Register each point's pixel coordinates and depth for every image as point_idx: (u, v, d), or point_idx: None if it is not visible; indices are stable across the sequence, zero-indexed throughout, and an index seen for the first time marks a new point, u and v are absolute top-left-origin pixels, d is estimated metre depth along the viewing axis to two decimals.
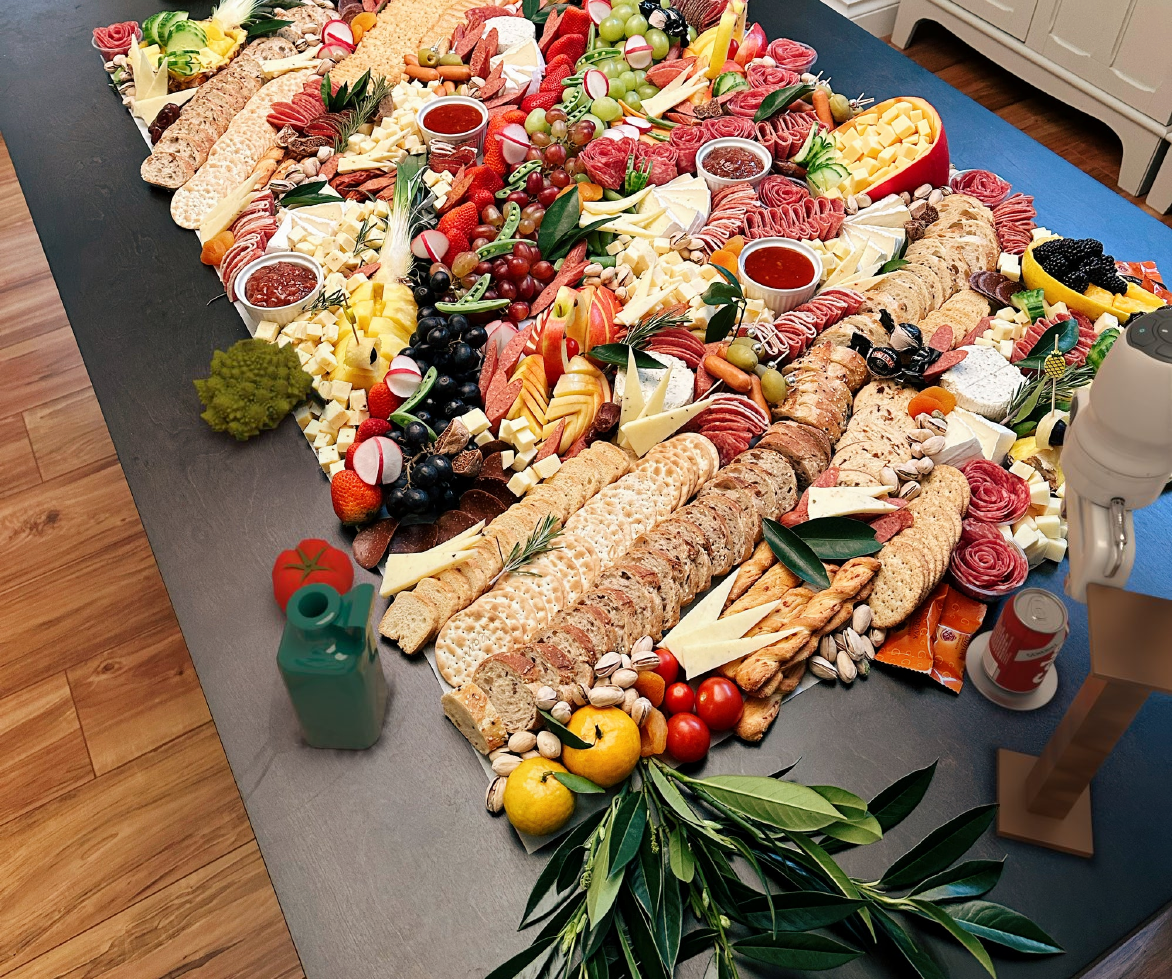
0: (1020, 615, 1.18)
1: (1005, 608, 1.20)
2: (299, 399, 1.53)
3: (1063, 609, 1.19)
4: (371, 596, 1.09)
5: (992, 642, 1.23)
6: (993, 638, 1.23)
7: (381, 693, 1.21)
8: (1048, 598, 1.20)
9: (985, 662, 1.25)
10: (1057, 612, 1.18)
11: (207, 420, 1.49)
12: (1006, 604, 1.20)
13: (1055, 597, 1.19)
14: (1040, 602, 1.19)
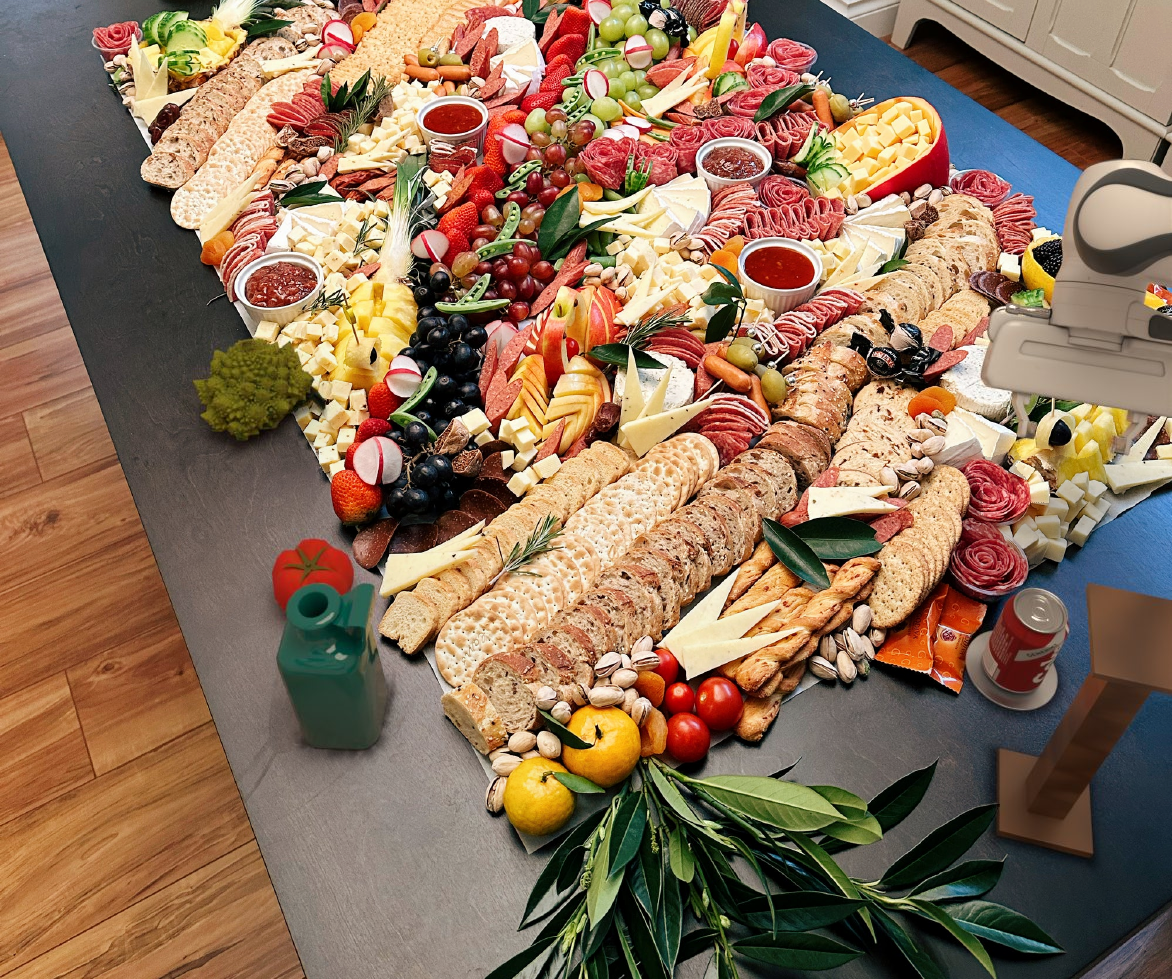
0: (1020, 615, 1.18)
1: (1005, 608, 1.20)
2: (299, 399, 1.53)
3: (1063, 609, 1.19)
4: (371, 596, 1.09)
5: (992, 642, 1.23)
6: (993, 638, 1.23)
7: (381, 693, 1.21)
8: (1048, 598, 1.20)
9: (985, 662, 1.25)
10: (1057, 612, 1.18)
11: (207, 420, 1.49)
12: (1006, 604, 1.20)
13: (1055, 597, 1.19)
14: (1040, 602, 1.19)
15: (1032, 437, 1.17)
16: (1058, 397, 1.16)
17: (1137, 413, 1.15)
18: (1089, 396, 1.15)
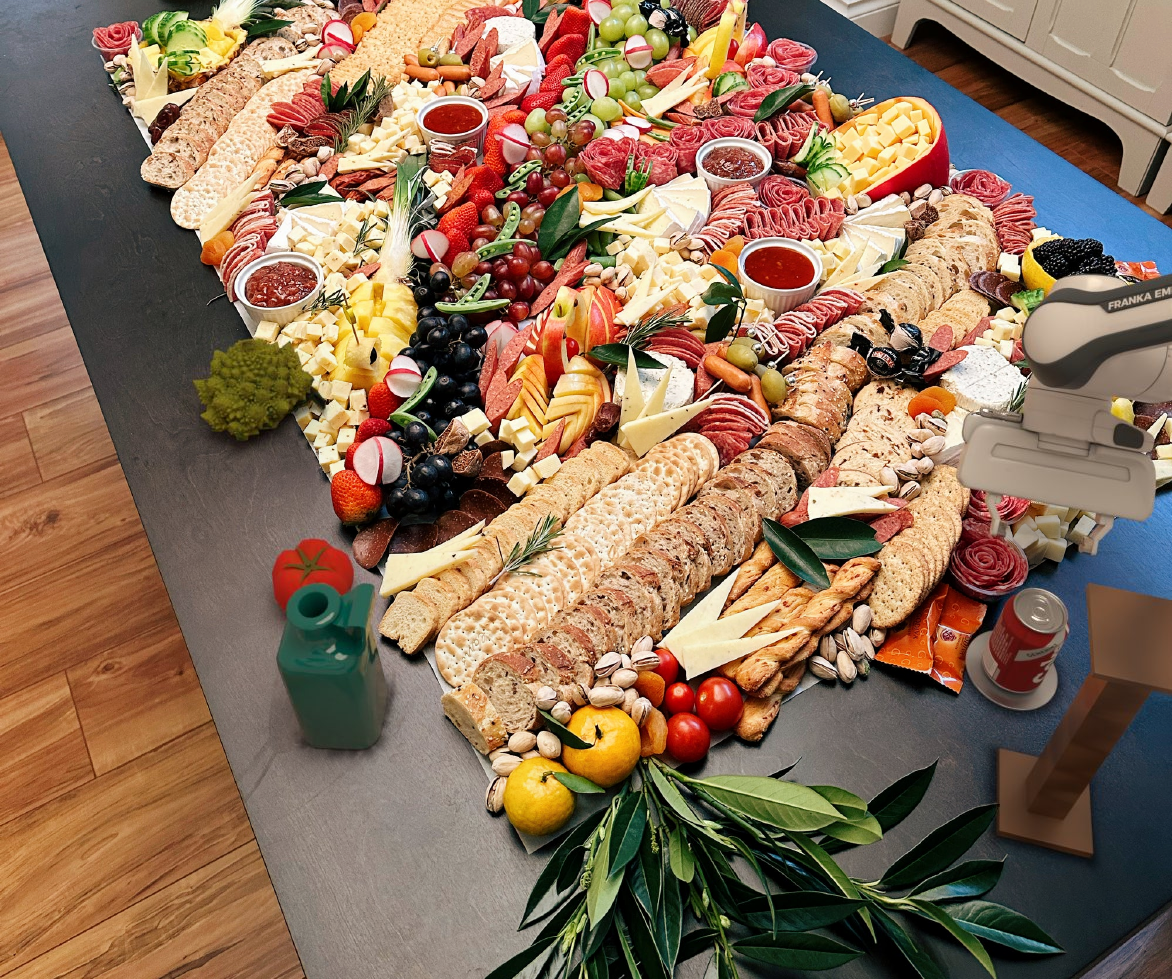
0: (1020, 615, 1.18)
1: (1005, 608, 1.20)
2: (299, 399, 1.53)
3: (1063, 609, 1.19)
4: (371, 596, 1.09)
5: (992, 642, 1.23)
6: (993, 638, 1.23)
7: (381, 693, 1.21)
8: (1048, 598, 1.20)
9: (985, 662, 1.25)
10: (1057, 612, 1.18)
11: (207, 420, 1.49)
12: (1006, 604, 1.20)
13: (1055, 597, 1.19)
14: (1040, 602, 1.19)
15: (1003, 536, 1.23)
16: (1028, 498, 1.22)
17: (1104, 515, 1.21)
18: (1057, 498, 1.21)
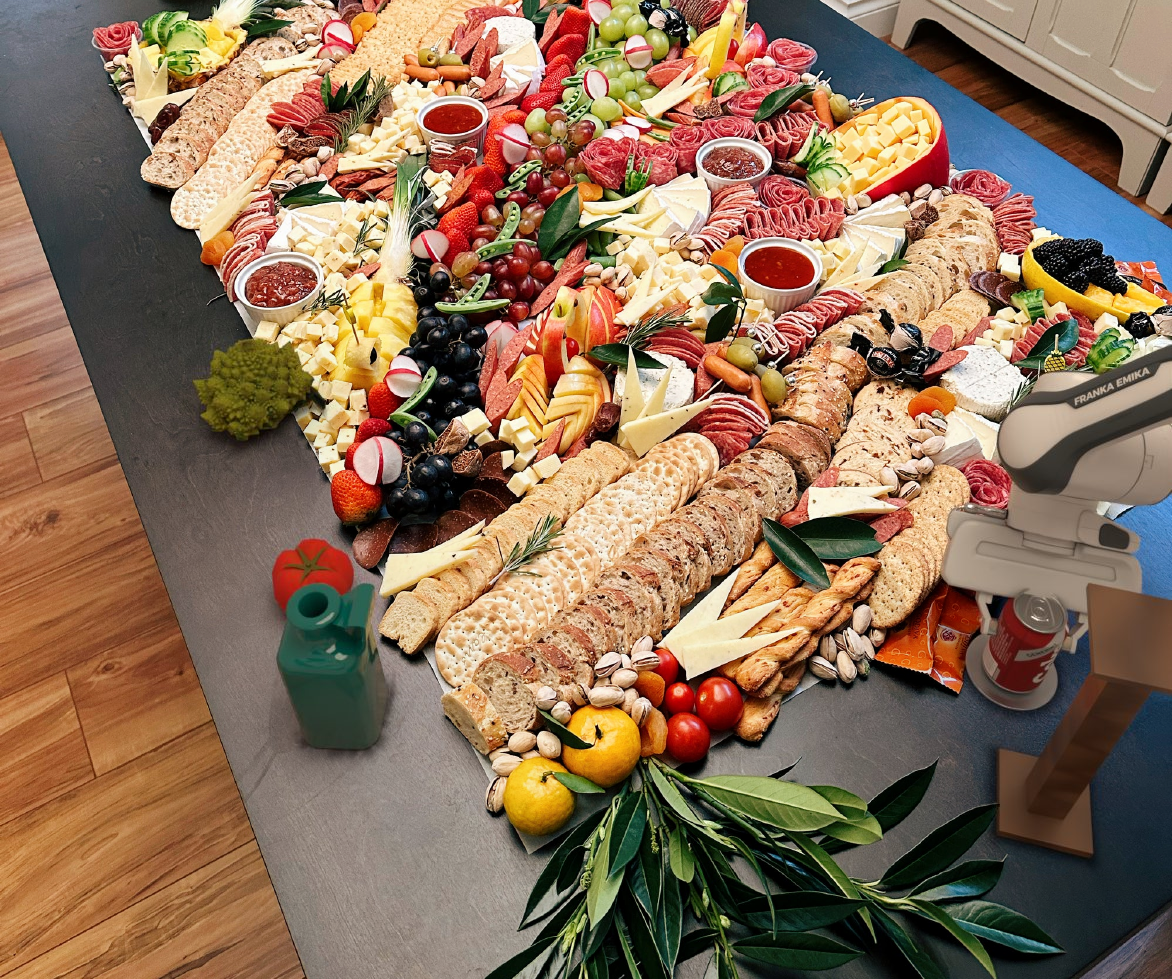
0: (1020, 615, 1.18)
1: (1004, 608, 1.20)
2: (299, 399, 1.53)
3: (1063, 609, 1.19)
4: (371, 596, 1.09)
5: (992, 642, 1.23)
6: (993, 638, 1.23)
7: (381, 693, 1.21)
8: (1048, 598, 1.20)
9: (985, 662, 1.25)
10: (1057, 612, 1.18)
11: (207, 420, 1.49)
12: (1006, 604, 1.20)
13: (1055, 597, 1.19)
14: (1040, 602, 1.19)
15: (994, 635, 1.21)
16: (1013, 597, 1.20)
17: None
18: None
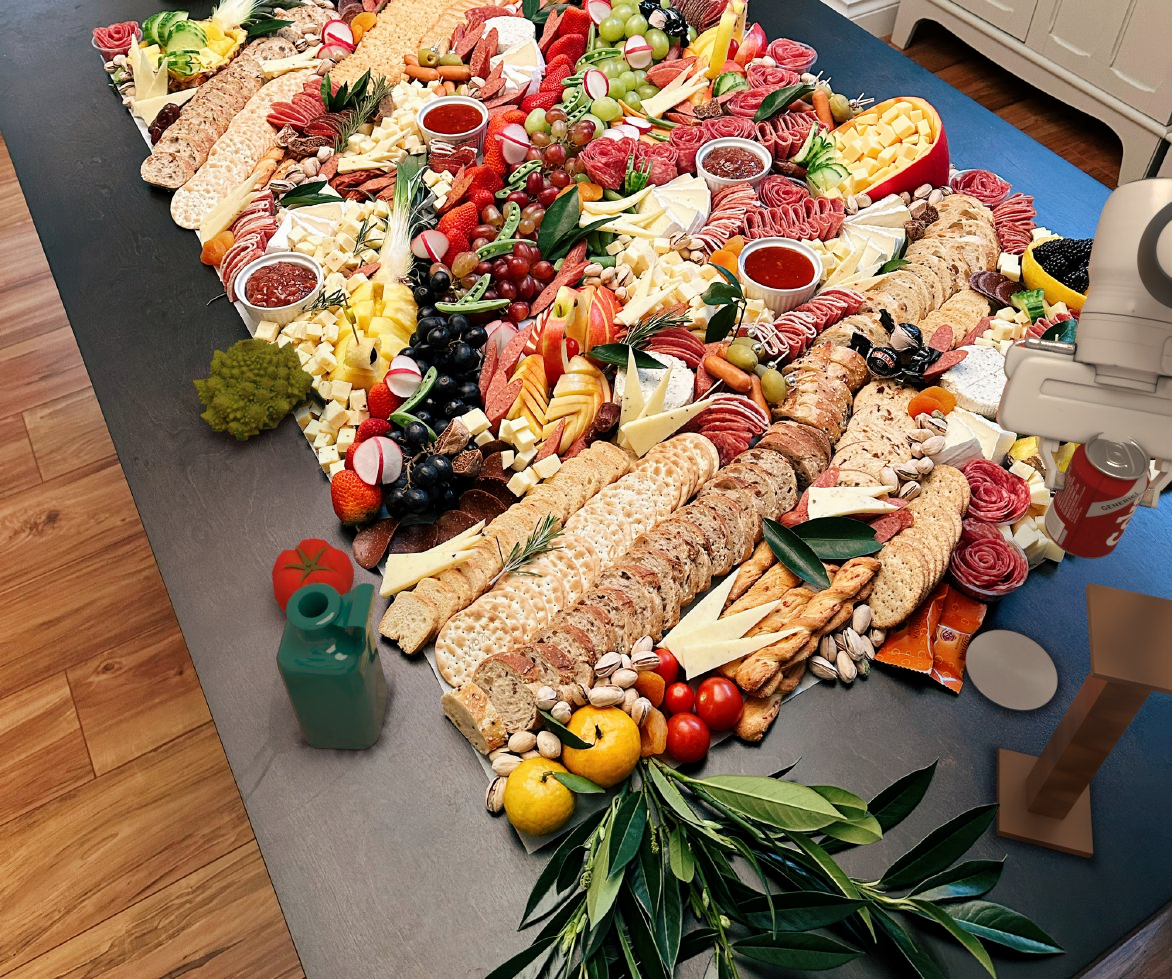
0: (1093, 460, 1.01)
1: (1074, 455, 1.03)
2: (299, 399, 1.53)
3: (1144, 454, 1.01)
4: (371, 596, 1.09)
5: (1058, 499, 1.05)
6: (1059, 494, 1.05)
7: (381, 693, 1.21)
8: (1125, 443, 1.02)
9: (1048, 525, 1.08)
10: (1137, 457, 1.01)
11: (207, 420, 1.49)
12: (1076, 451, 1.03)
13: (1134, 441, 1.02)
14: (1117, 447, 1.02)
15: (1061, 489, 1.04)
16: (1084, 443, 1.03)
17: None
18: (1119, 442, 1.02)
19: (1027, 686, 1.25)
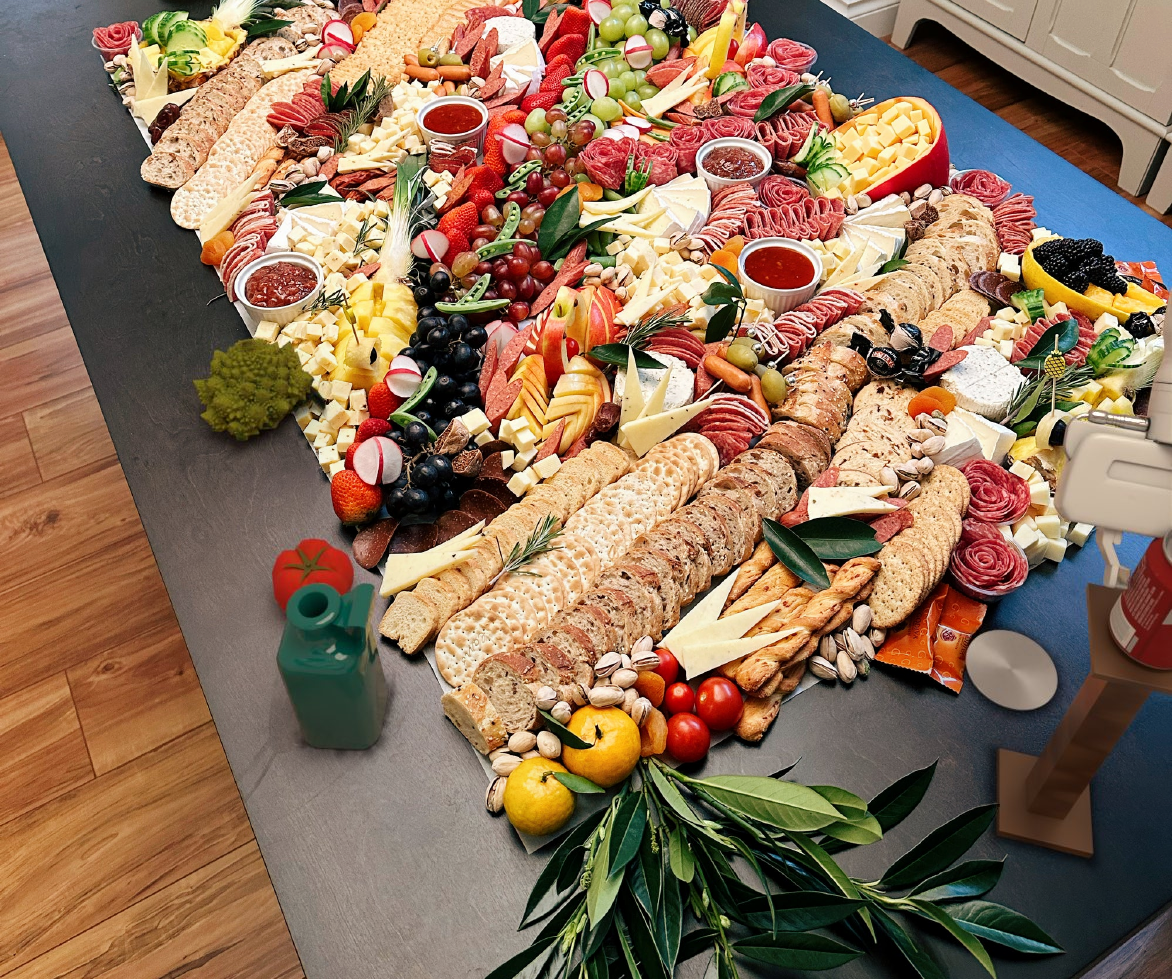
0: None
1: (1149, 552, 0.87)
2: (299, 399, 1.53)
3: None
4: (371, 596, 1.09)
5: (1127, 600, 0.90)
6: (1129, 595, 0.90)
7: (381, 693, 1.21)
8: None
9: (1114, 628, 0.92)
10: None
11: (207, 420, 1.49)
12: (1150, 547, 0.87)
13: None
14: None
15: (1124, 588, 0.89)
16: (1159, 537, 0.87)
17: None
18: None
19: (1027, 686, 1.25)
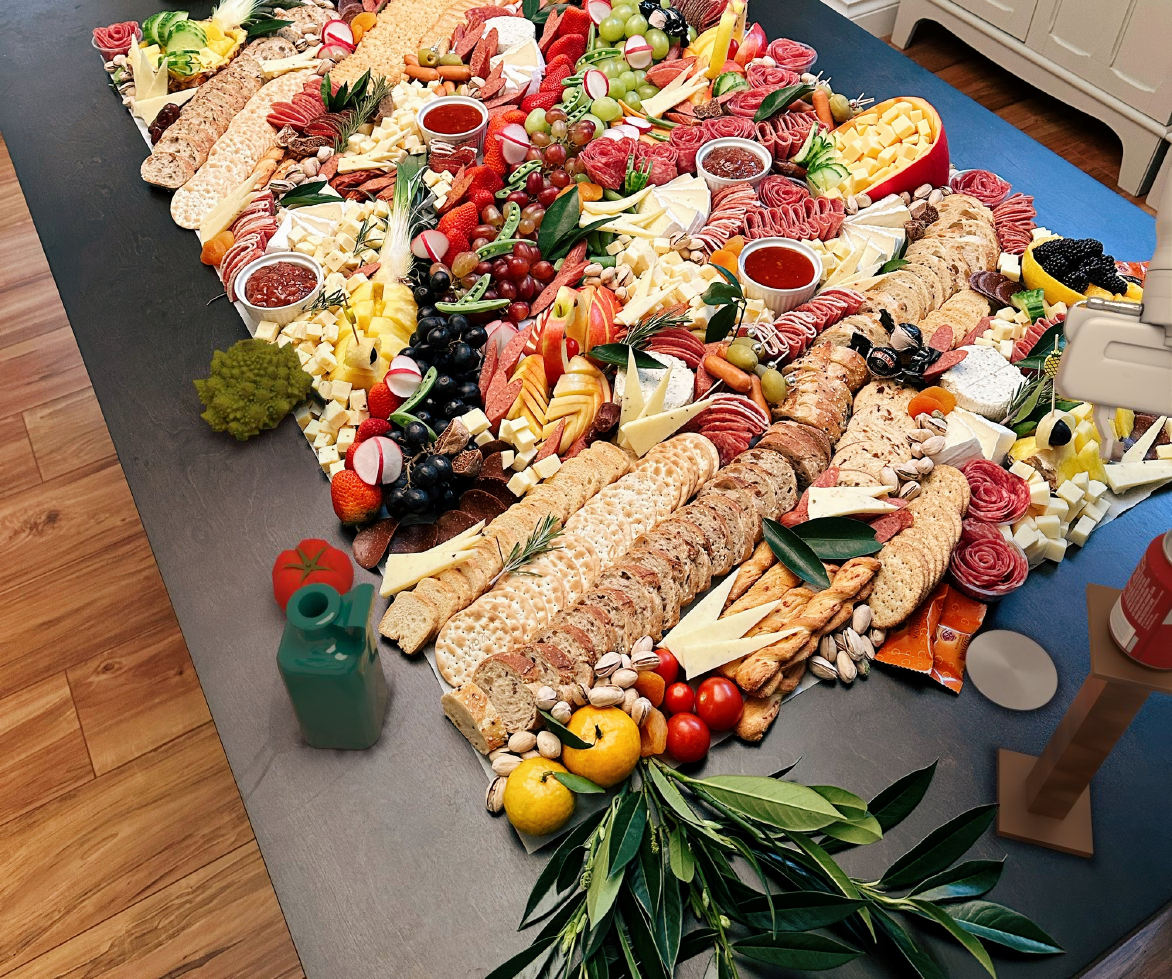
0: None
1: (1149, 552, 0.87)
2: (299, 399, 1.53)
3: None
4: (371, 596, 1.09)
5: (1127, 600, 0.90)
6: (1129, 595, 0.90)
7: (381, 693, 1.21)
8: None
9: (1114, 628, 0.92)
10: None
11: (207, 420, 1.49)
12: (1150, 547, 0.88)
13: None
14: None
15: (1118, 460, 0.96)
16: (1152, 411, 0.95)
17: None
18: None
19: (1027, 686, 1.25)
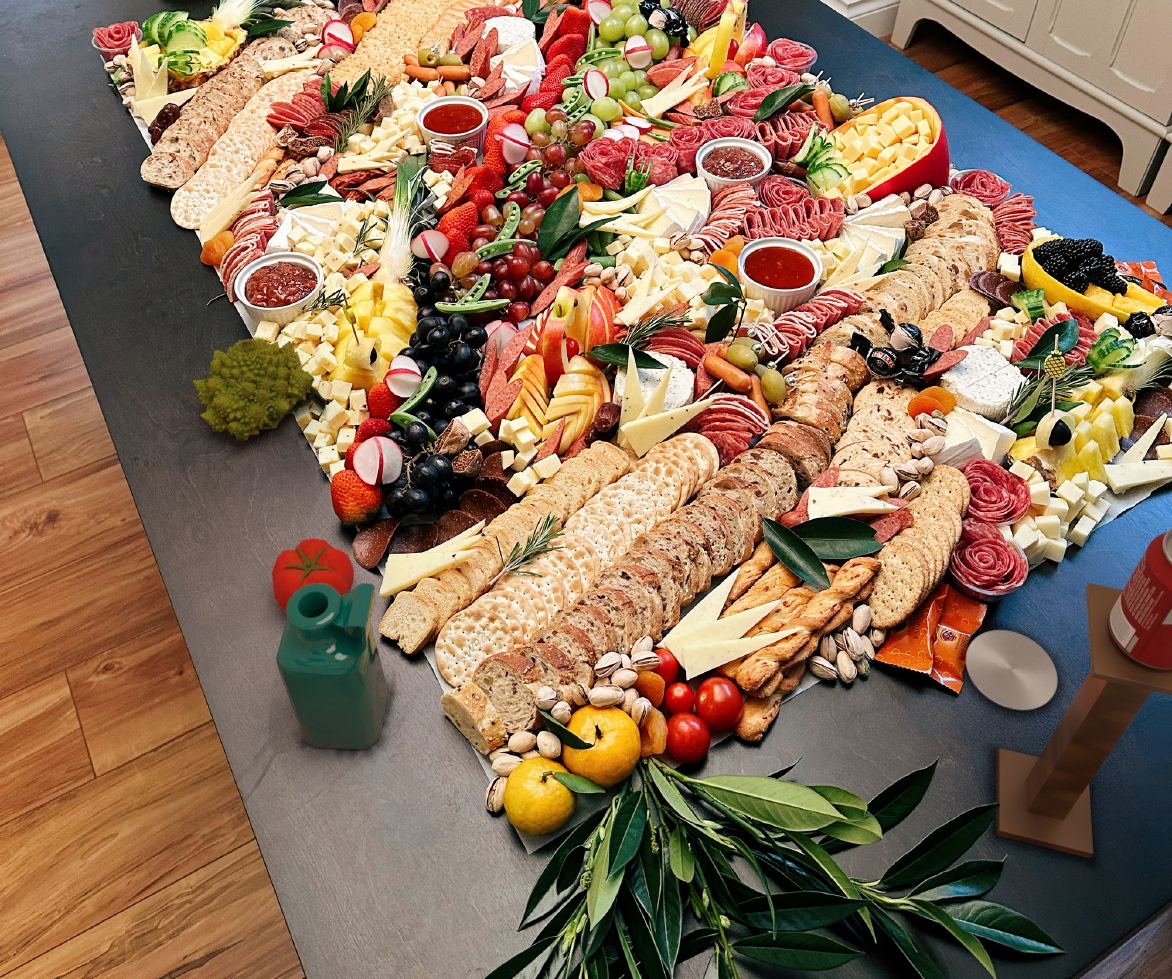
0: None
1: (1149, 552, 0.87)
2: (299, 399, 1.53)
3: None
4: (371, 596, 1.09)
5: (1127, 600, 0.90)
6: (1129, 595, 0.90)
7: (381, 693, 1.21)
8: None
9: (1114, 628, 0.92)
10: None
11: (207, 420, 1.49)
12: (1150, 547, 0.88)
13: None
14: None
15: None
16: None
17: None
18: None
19: (1027, 686, 1.25)
